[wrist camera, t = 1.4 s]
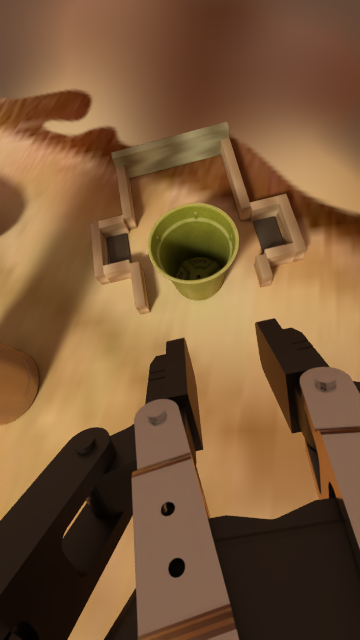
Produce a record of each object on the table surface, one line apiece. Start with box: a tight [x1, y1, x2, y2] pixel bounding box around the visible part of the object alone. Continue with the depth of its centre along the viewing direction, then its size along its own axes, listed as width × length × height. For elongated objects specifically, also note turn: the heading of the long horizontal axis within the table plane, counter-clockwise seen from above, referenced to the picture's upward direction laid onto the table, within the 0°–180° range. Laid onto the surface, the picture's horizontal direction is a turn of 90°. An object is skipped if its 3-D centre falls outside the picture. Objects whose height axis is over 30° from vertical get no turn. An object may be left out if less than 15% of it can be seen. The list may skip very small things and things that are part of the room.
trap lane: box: [90, 122, 307, 314], centre depth 41 cm, size 26×23×4 cm
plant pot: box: [148, 203, 239, 300], centre depth 36 cm, size 9×9×9 cm
